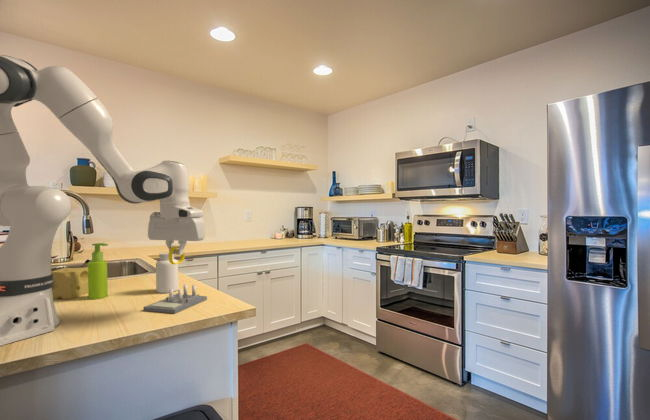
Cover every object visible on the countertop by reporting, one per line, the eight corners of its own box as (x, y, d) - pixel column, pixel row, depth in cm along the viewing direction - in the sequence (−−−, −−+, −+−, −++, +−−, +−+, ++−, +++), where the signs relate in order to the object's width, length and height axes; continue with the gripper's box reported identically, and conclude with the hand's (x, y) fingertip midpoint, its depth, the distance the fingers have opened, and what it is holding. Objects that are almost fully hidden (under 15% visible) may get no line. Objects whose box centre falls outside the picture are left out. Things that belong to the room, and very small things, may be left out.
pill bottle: (151, 292, 130) (151, 253, 130) (169, 287, 137) (169, 251, 137) (165, 294, 127) (164, 254, 126) (183, 289, 134) (182, 252, 133)
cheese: (71, 299, 121) (71, 272, 121) (42, 299, 121) (41, 272, 121) (92, 292, 132) (91, 266, 131) (65, 292, 132) (64, 267, 132)
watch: (174, 266, 106) (172, 247, 106) (167, 266, 107) (165, 247, 106) (187, 261, 112) (185, 244, 111) (180, 261, 113) (178, 243, 112)
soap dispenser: (100, 299, 120) (99, 244, 120) (84, 299, 121) (83, 244, 121) (113, 295, 126) (112, 242, 125) (98, 294, 127) (97, 242, 127)
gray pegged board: (175, 313, 103) (174, 296, 103) (143, 310, 107) (143, 294, 107) (206, 299, 119) (206, 285, 119) (178, 297, 122) (178, 283, 122)
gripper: (142, 212, 109) (143, 254, 109) (194, 212, 103) (195, 257, 103) (157, 211, 115) (158, 251, 115) (207, 211, 109) (208, 253, 109)
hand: (176, 254), depth 109 cm, fingers closed on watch
